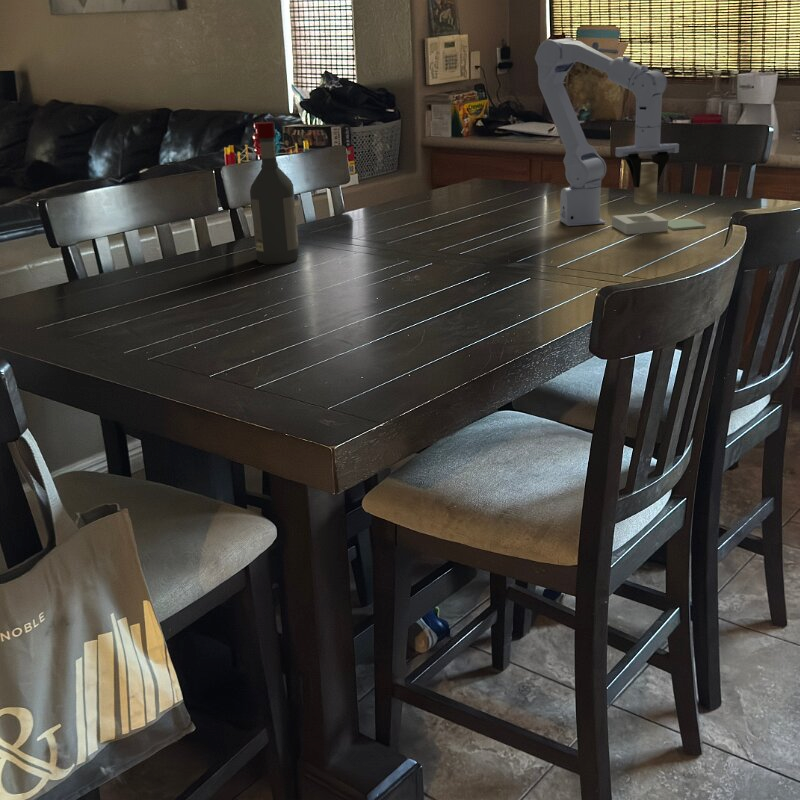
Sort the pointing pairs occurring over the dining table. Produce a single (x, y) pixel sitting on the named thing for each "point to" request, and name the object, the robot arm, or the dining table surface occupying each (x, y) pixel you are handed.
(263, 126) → the liquor
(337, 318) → the dining table surface
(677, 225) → the mat
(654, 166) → the plug
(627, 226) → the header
